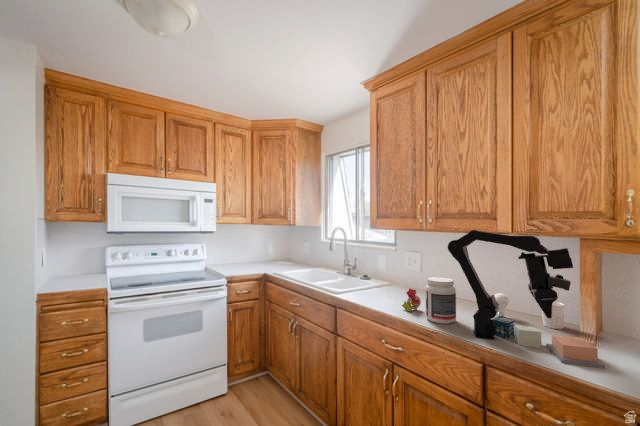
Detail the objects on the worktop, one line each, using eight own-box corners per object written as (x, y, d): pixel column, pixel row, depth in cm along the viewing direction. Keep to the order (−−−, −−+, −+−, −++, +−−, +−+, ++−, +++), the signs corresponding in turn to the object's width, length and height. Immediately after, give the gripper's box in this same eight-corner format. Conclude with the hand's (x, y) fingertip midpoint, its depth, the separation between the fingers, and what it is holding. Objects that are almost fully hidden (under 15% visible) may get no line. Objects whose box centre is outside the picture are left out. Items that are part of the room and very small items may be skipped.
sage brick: (518, 345, 109) (518, 329, 109) (515, 340, 113) (514, 325, 113) (541, 347, 106) (541, 332, 106) (536, 343, 111) (536, 327, 111)
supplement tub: (462, 322, 132) (462, 280, 133) (442, 326, 127) (442, 283, 127) (439, 314, 144) (438, 275, 144) (419, 318, 138) (419, 278, 138)
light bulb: (495, 318, 138) (495, 294, 138) (490, 314, 144) (490, 291, 145) (511, 319, 136) (511, 295, 137) (506, 315, 143) (505, 291, 143)
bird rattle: (411, 312, 154) (397, 306, 151) (419, 291, 155) (405, 285, 153) (419, 316, 148) (404, 310, 145) (427, 294, 149) (412, 288, 147)
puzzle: (498, 331, 122) (498, 316, 122) (514, 335, 118) (514, 320, 118) (491, 334, 119) (491, 319, 119) (508, 339, 114) (508, 323, 114)
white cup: (565, 326, 128) (564, 302, 128) (564, 331, 122) (563, 306, 122) (542, 322, 133) (542, 299, 134) (540, 326, 127) (540, 303, 128)
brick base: (561, 362, 95) (561, 346, 95) (546, 346, 107) (546, 332, 107) (605, 368, 91) (605, 352, 91) (584, 351, 104) (583, 336, 104)
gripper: (571, 271, 95) (583, 321, 93) (559, 265, 111) (569, 308, 109) (529, 274, 101) (540, 322, 98) (524, 268, 117) (533, 309, 115)
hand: (547, 314), depth 105 cm, fingers open, 9 cm apart
